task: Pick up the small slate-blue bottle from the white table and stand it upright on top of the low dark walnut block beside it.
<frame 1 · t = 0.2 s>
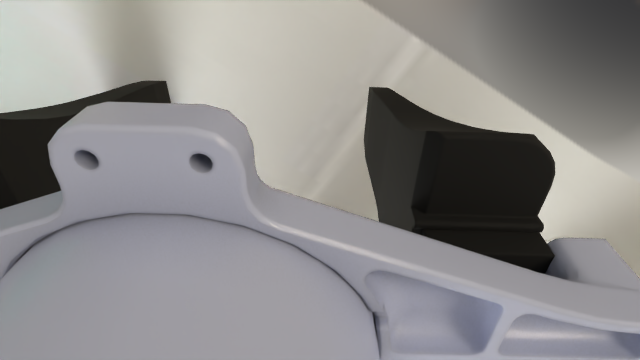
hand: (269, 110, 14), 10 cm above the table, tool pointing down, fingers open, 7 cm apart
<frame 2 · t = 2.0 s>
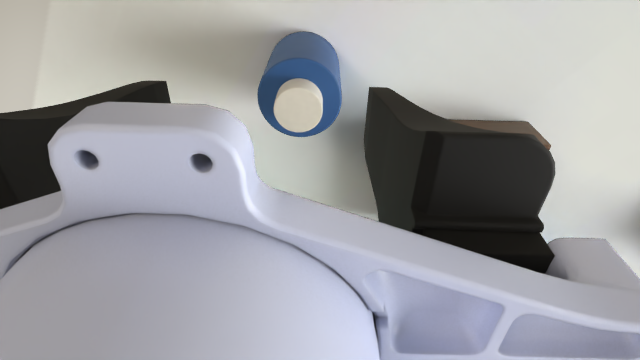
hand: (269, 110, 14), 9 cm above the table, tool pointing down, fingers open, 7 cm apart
walnut block: (450, 172, 26), on the table
blue bottle: (304, 67, 22), on the table
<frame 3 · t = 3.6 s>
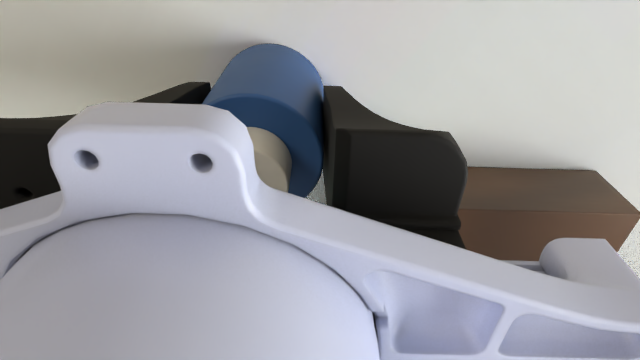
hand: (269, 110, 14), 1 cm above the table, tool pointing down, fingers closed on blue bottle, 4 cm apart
walnut block: (480, 234, 19), on the table
blue bottle: (272, 95, 15), on the table, touching gripper
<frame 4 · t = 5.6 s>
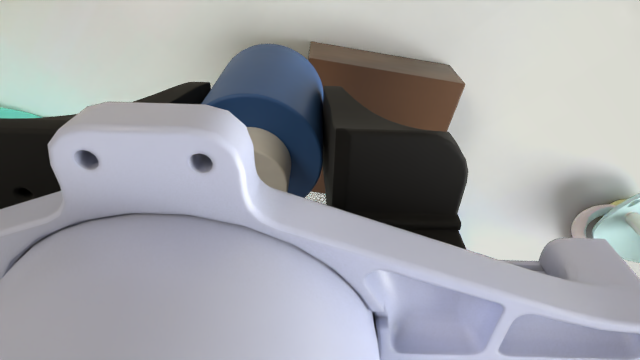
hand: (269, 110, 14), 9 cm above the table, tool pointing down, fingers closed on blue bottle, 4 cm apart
pacifier: (612, 218, 28), on the table
walnut block: (365, 117, 23), on the table
blue bottle: (272, 95, 15), point 7 cm above the table, touching gripper
when the fingers open (4 cm above the table, at t = 7.9 s): blue bottle stays where it is, resting on walnut block.
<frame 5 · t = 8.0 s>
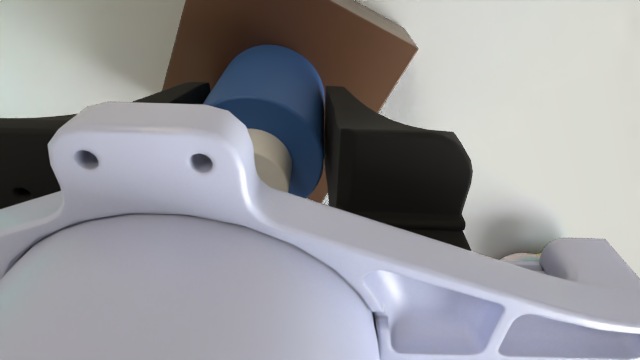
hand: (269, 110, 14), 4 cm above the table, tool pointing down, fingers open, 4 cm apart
walnut block: (281, 70, 17), on the table
blue bottle: (273, 96, 15), point 3 cm above the table, touching walnut block
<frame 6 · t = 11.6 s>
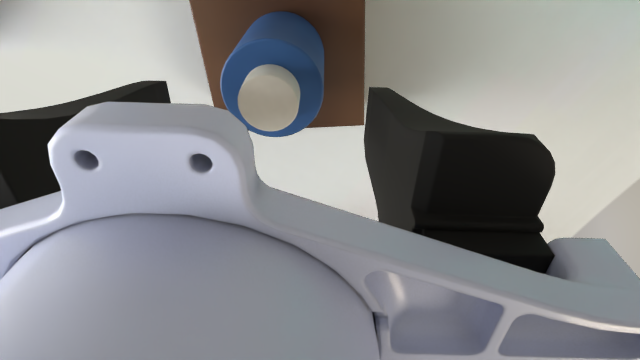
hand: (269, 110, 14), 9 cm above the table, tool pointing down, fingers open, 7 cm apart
walnut block: (288, 39, 21), on the table
blue bottle: (283, 54, 18), point 3 cm above the table, touching walnut block
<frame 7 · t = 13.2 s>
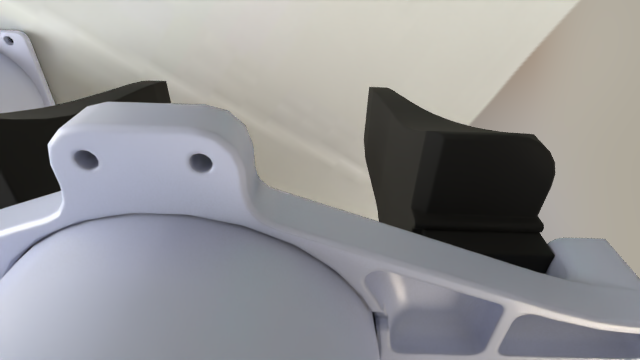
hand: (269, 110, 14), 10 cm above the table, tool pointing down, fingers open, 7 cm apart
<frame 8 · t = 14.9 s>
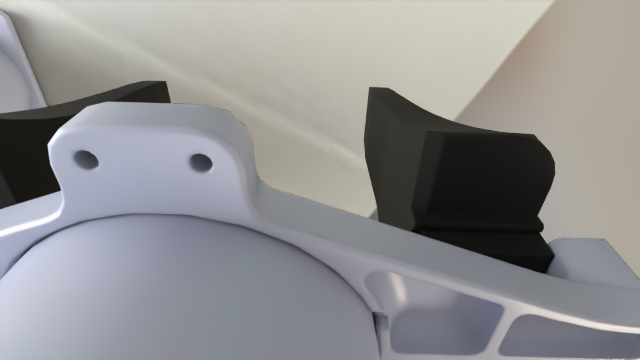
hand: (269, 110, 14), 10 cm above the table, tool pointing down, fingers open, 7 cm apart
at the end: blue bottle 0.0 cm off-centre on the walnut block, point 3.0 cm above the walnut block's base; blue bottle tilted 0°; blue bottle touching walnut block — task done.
